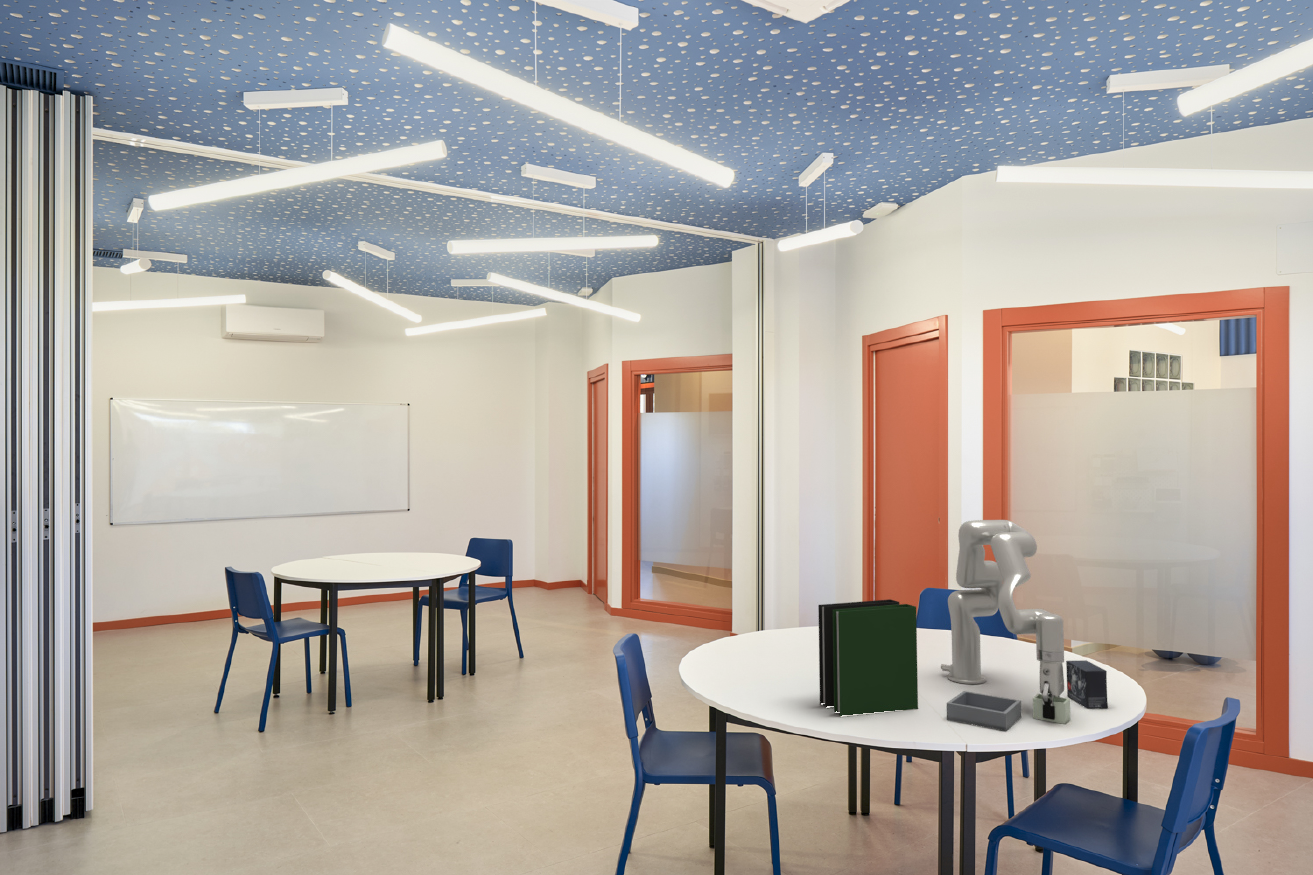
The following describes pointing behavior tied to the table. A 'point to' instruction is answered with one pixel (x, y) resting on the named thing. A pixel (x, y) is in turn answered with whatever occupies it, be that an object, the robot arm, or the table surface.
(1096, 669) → the small box
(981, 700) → the big crate
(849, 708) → the binder
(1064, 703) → the small crate
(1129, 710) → the table surface
